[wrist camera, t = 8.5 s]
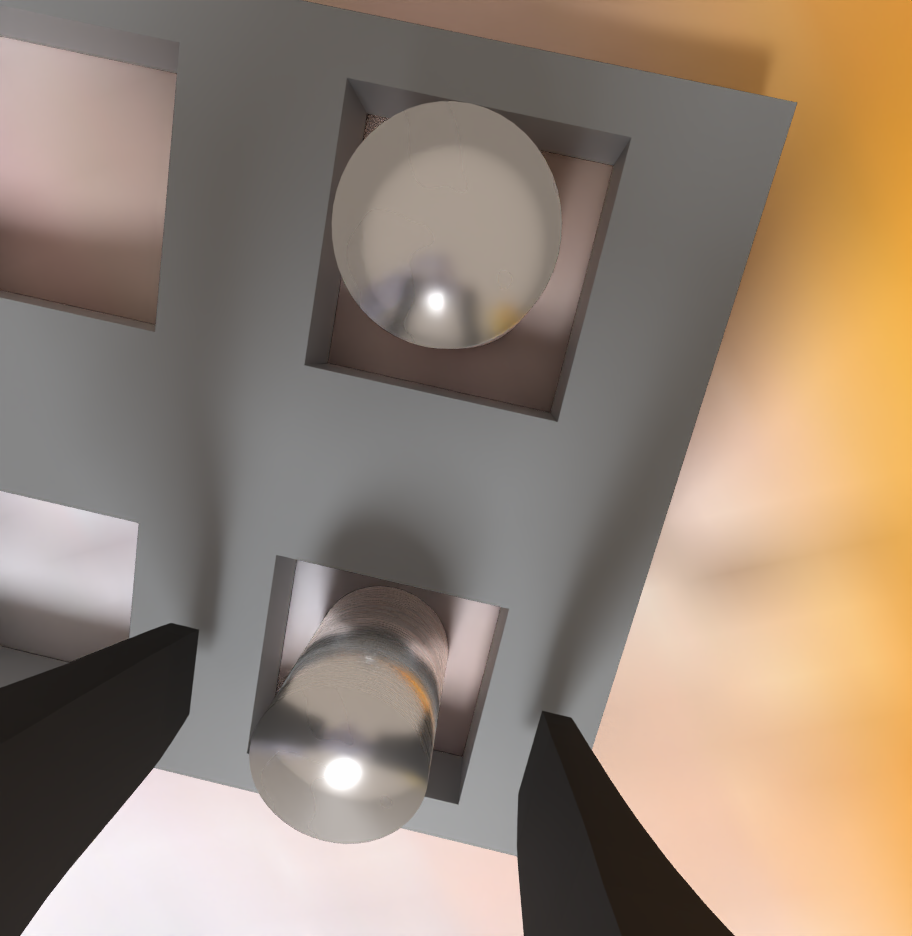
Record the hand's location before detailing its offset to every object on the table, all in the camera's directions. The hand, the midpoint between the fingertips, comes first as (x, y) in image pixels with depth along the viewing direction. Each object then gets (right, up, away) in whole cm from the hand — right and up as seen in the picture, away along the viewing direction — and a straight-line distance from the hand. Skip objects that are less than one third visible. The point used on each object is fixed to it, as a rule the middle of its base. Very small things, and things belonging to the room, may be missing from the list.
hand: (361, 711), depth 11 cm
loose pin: (0, +1, +2) cm, 2 cm away
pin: (+2, +9, 0) cm, 9 cm away
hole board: (-3, +6, +1) cm, 6 cm away
